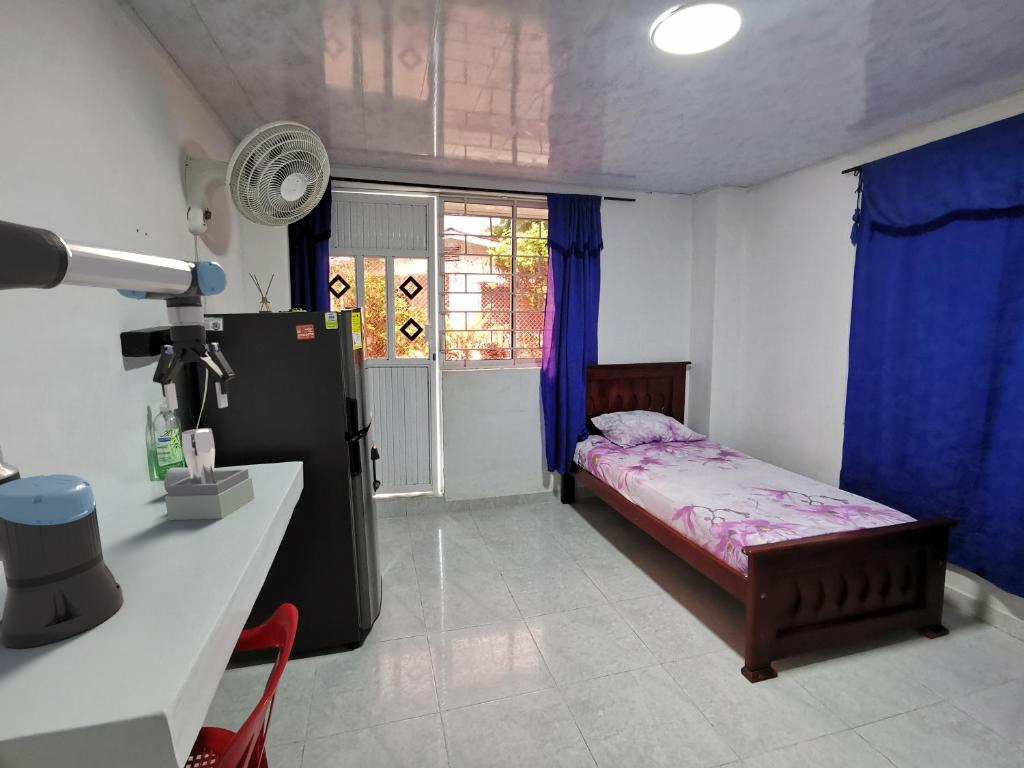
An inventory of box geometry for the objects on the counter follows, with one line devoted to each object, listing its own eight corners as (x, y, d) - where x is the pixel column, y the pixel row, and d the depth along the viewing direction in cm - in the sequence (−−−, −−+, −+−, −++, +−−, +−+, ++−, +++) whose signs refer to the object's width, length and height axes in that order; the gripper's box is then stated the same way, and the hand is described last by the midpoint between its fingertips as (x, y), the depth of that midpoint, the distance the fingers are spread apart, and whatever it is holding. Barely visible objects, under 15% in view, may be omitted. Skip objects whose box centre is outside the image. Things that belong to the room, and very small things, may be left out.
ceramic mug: (195, 495, 143) (192, 469, 142) (165, 497, 142) (161, 471, 141) (212, 484, 153) (209, 460, 152) (184, 486, 152) (181, 462, 151)
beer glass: (216, 488, 128) (209, 431, 126) (185, 493, 125) (177, 435, 124) (221, 481, 134) (214, 426, 133) (192, 485, 132) (184, 430, 130)
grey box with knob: (222, 518, 123) (217, 485, 122) (156, 520, 124) (152, 487, 123) (254, 498, 137) (250, 468, 136) (195, 500, 138) (191, 470, 137)
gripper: (243, 322, 127) (253, 403, 130) (151, 327, 129) (162, 407, 132) (225, 322, 120) (235, 408, 123) (127, 327, 122) (140, 412, 124)
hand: (198, 408), depth 127 cm, fingers open, 13 cm apart
